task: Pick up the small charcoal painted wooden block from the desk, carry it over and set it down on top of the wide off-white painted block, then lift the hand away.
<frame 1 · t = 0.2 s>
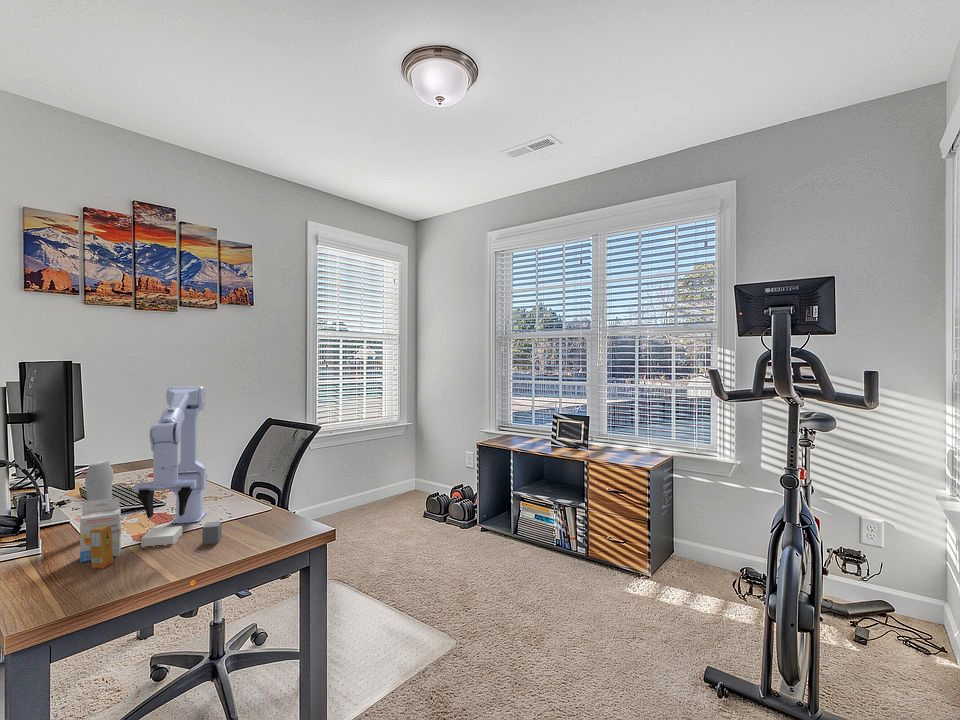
hand: (166, 515, 135), 10 cm above the table, tool pointing down, fingers open, 7 cm apart
tall pale column: (100, 534, 148), on the table
supplement box: (101, 566, 126), on the table
charcoal block: (212, 541, 143), on the table
ink box: (101, 557, 132), on the table
base block: (162, 542, 143), on the table
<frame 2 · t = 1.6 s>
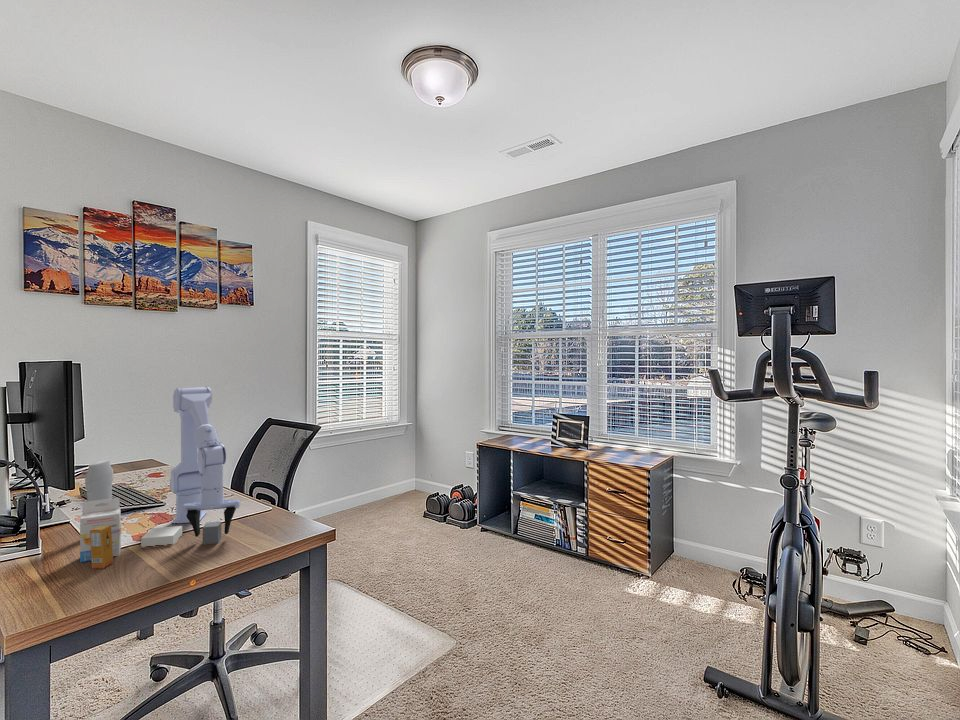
hand: (212, 534, 143), 2 cm above the table, tool pointing down, fingers open, 7 cm apart
nothing on the table moved.
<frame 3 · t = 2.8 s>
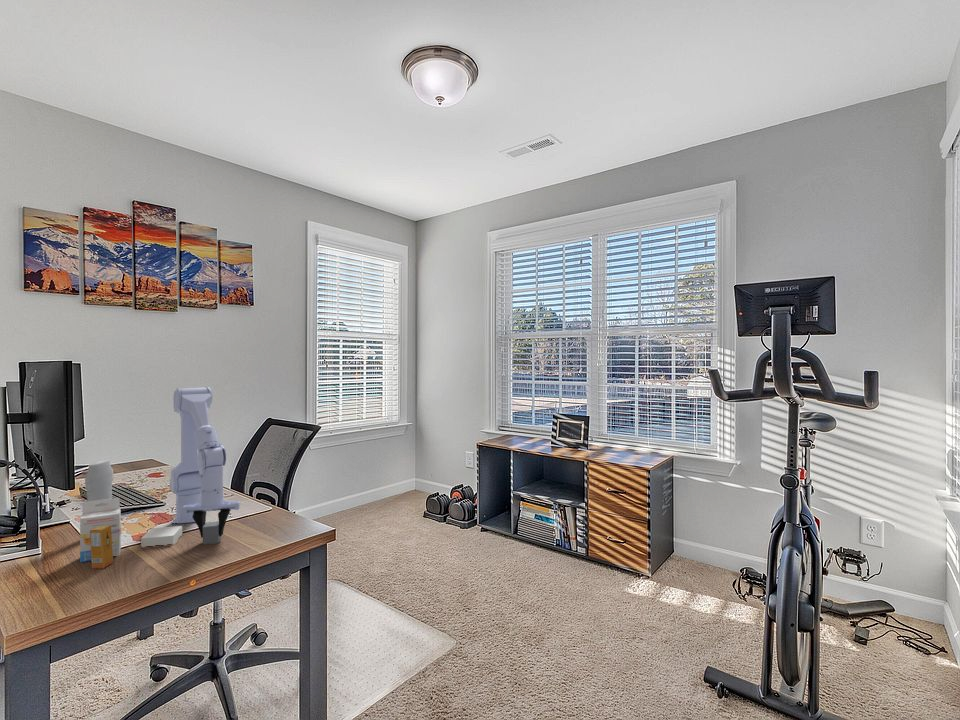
hand: (212, 535, 143), 2 cm above the table, tool pointing down, fingers closed on charcoal block, 4 cm apart
charcoal block: (212, 541, 143), on the table, touching gripper
everything else where it was.
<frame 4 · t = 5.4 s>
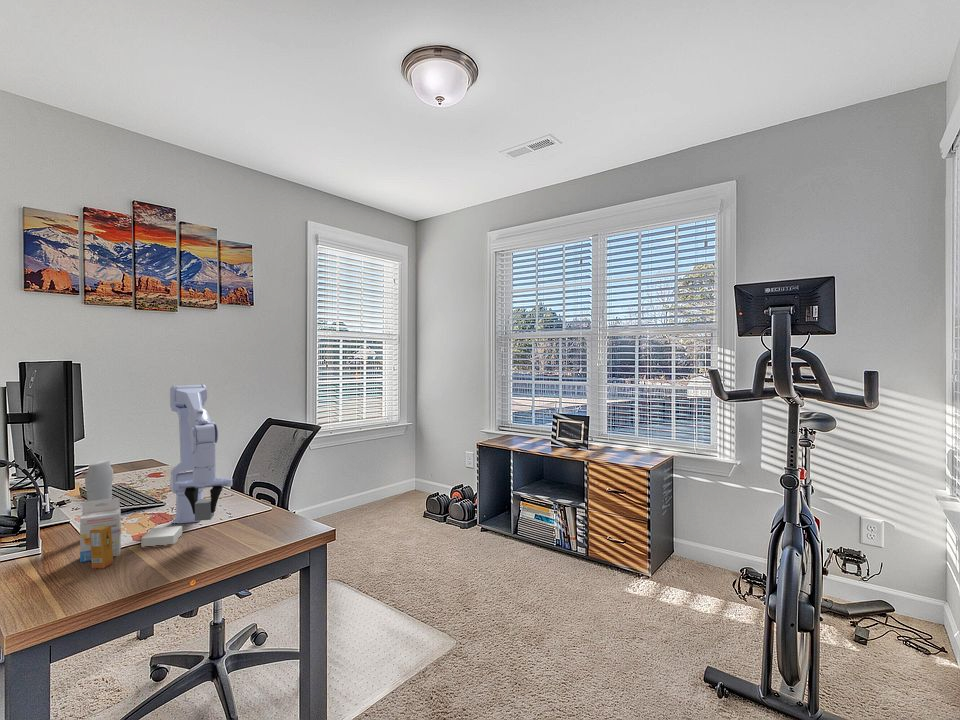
hand: (204, 512, 142), 8 cm above the table, tool pointing down, fingers closed on charcoal block, 4 cm apart
charcoal block: (204, 518, 143), point 7 cm above the table, touching gripper
everything else where it was.
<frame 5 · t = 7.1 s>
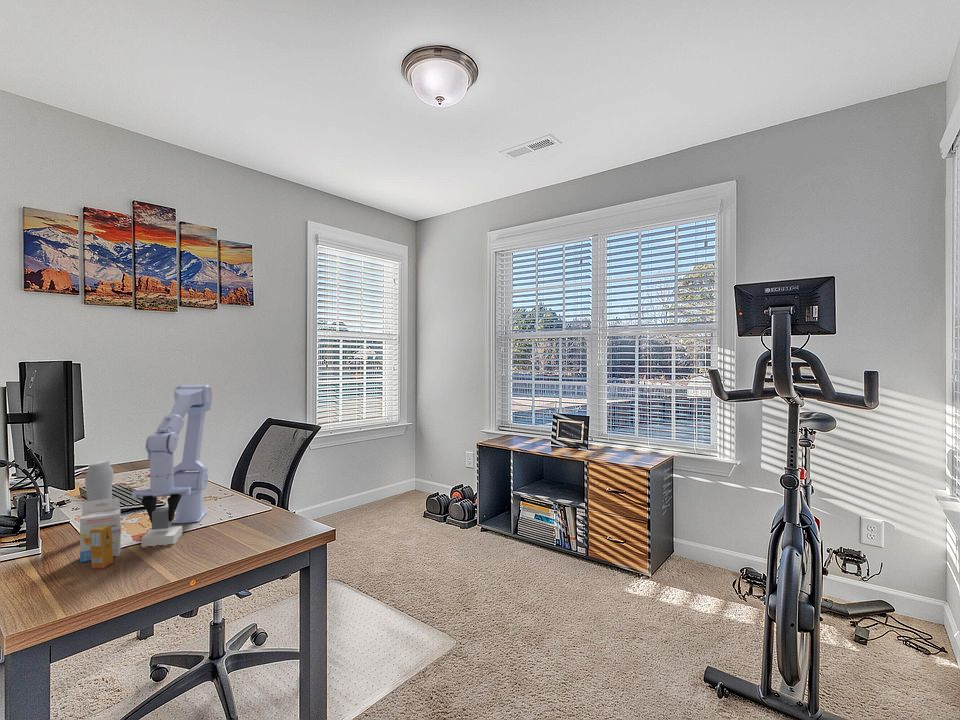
hand: (162, 520, 143), 6 cm above the table, tool pointing down, fingers closed on charcoal block, 4 cm apart
charcoal block: (162, 526, 143), point 4 cm above the table, touching gripper
everything else where it was.
when the fingers open (6 cm above the table, at t = 8.2 s): charcoal block drops 1 cm, resting on base block.
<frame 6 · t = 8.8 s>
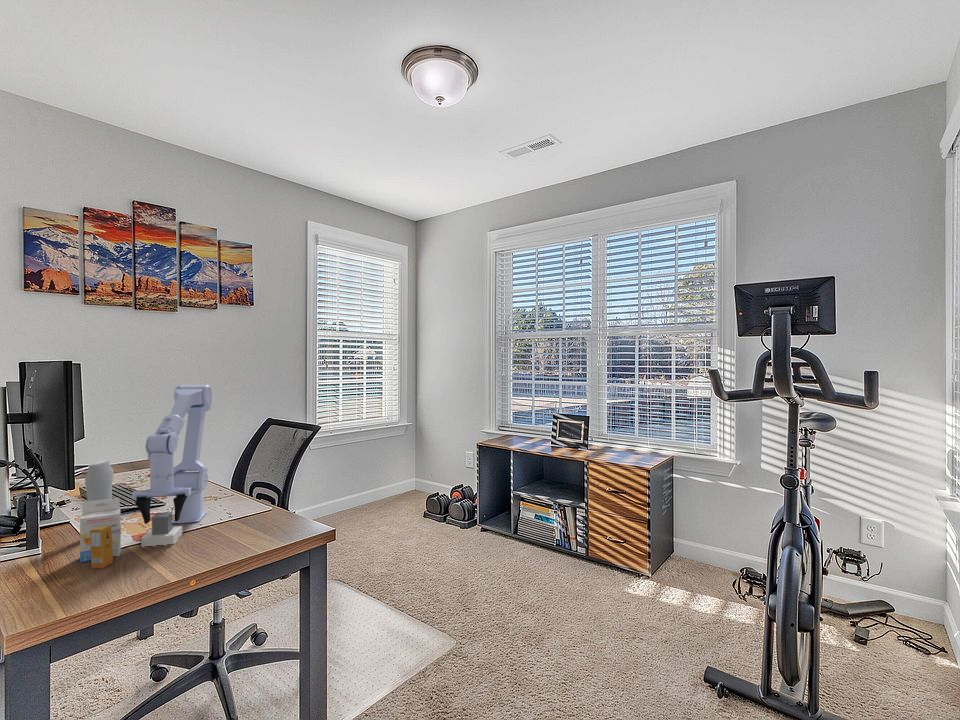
hand: (162, 521, 143), 6 cm above the table, tool pointing down, fingers open, 7 cm apart
charcoal block: (162, 531, 143), point 3 cm above the table, touching base block
base block: (162, 542, 143), on the table, touching charcoal block
everything else where it was.
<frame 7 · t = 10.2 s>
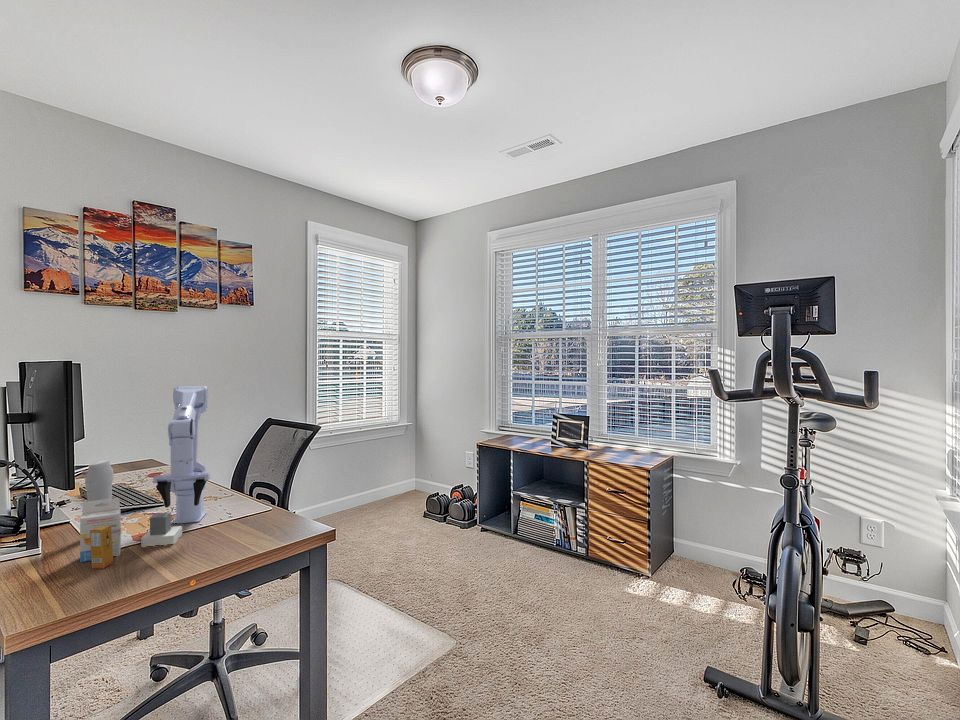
hand: (182, 505, 145), 9 cm above the table, tool pointing down, fingers open, 7 cm apart
nothing on the table moved.
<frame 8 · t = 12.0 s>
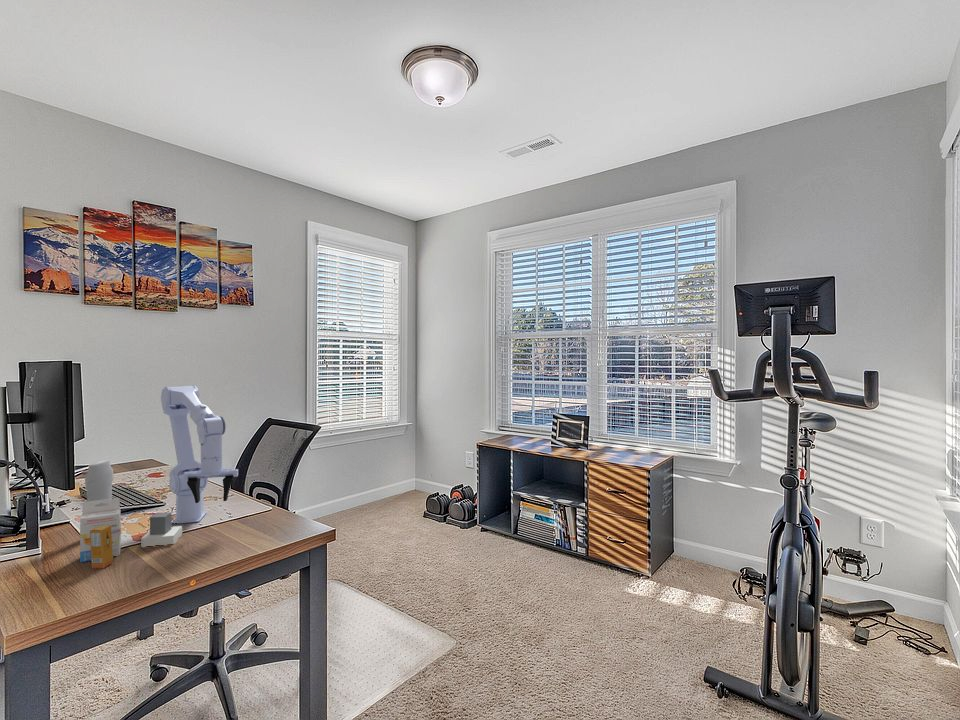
hand: (211, 501, 150), 9 cm above the table, tool pointing down, fingers open, 7 cm apart
nothing on the table moved.
at the end: charcoal block 0.5 cm off-centre on the base block, point 3.0 cm above the base block's base; charcoal block tilted 0°; the gripper is holding nothing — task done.
